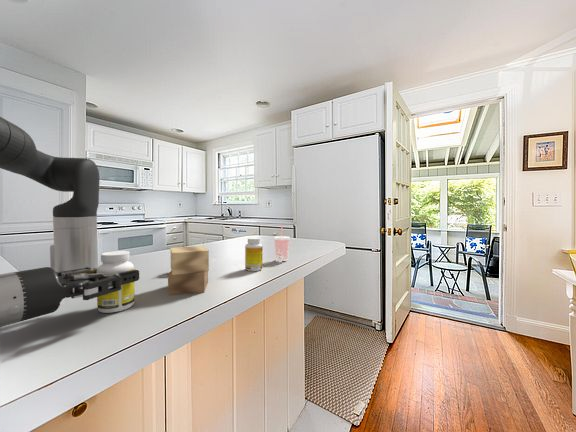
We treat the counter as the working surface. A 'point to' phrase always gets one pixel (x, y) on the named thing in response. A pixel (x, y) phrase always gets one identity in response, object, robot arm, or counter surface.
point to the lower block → (187, 283)
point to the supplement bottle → (253, 254)
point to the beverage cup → (281, 246)
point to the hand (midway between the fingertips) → (128, 272)
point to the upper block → (189, 260)
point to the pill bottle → (111, 265)
